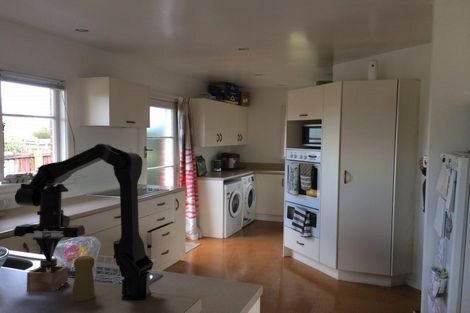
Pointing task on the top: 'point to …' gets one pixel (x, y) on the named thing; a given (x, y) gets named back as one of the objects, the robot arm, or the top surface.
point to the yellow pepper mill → (83, 279)
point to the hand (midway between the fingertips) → (48, 260)
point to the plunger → (48, 264)
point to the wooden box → (46, 278)
